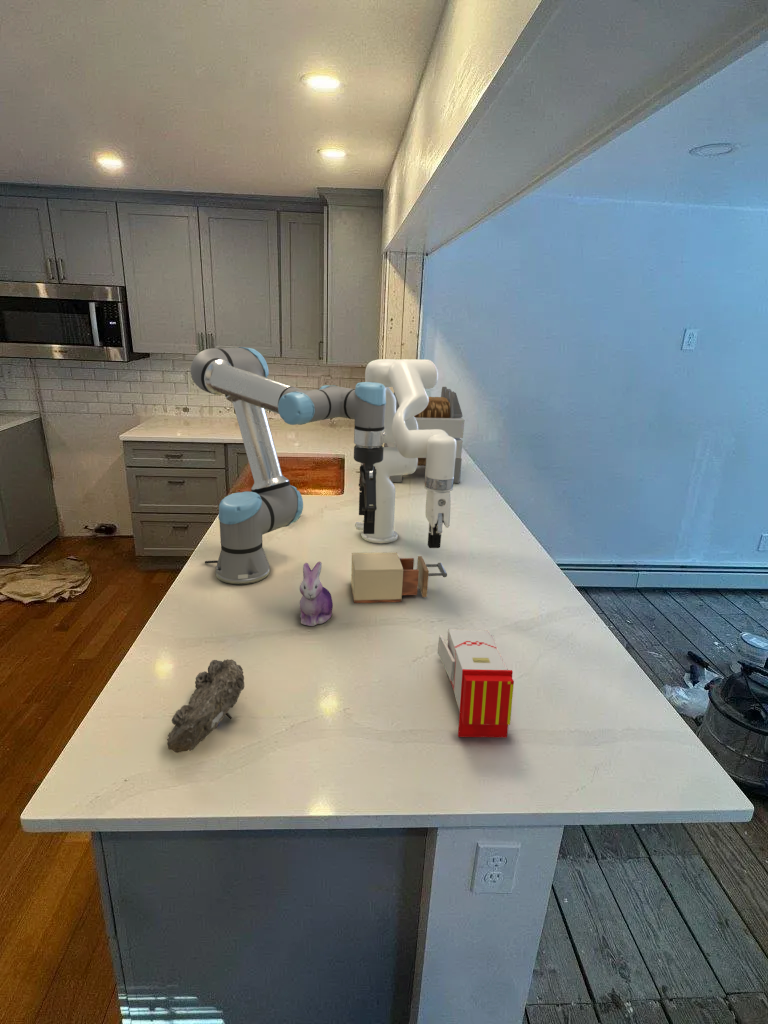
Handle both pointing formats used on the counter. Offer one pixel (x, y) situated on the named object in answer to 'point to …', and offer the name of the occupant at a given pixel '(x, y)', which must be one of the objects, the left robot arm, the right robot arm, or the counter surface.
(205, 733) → the fossil
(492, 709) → the toy
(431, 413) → the transformer
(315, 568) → the figurine
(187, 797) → the counter surface
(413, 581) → the drawer
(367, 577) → the lidded box
